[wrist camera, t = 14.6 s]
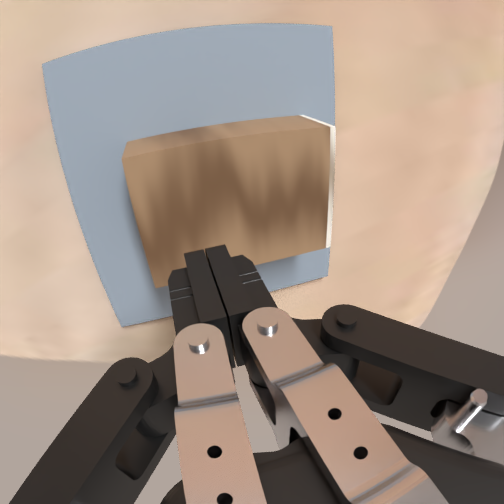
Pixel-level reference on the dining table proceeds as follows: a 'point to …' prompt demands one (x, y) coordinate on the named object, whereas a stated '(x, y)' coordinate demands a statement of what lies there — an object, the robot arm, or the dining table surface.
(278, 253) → the slab
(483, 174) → the dining table surface
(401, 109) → the dining table surface
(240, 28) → the mat
